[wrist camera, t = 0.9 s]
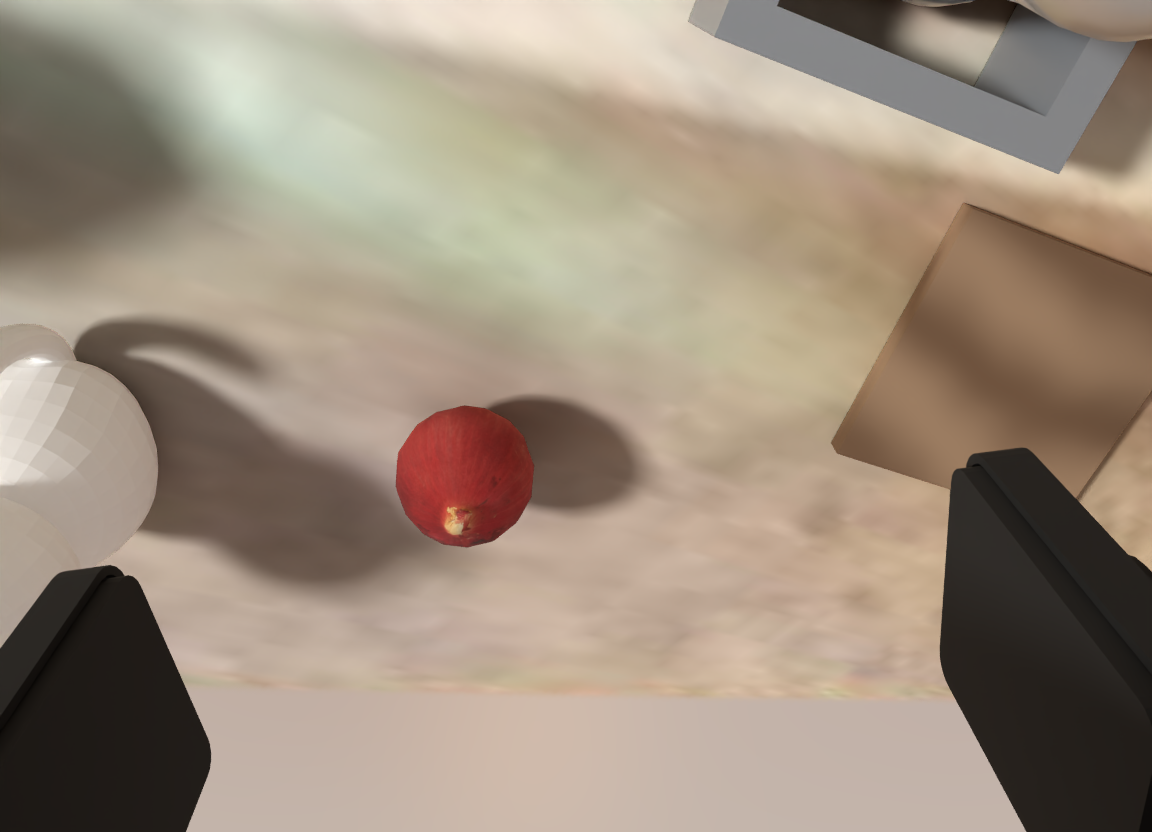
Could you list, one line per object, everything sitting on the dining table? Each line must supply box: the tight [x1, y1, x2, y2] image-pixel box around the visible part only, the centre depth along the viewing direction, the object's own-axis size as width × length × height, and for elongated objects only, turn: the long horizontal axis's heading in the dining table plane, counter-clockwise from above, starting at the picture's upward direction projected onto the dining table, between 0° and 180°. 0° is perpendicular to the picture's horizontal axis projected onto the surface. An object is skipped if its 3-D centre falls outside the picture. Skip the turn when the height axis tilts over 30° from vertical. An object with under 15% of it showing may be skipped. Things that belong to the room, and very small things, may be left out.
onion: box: [396, 406, 534, 547], centre depth 39 cm, size 6×6×8 cm
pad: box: [831, 203, 1152, 498], centre depth 42 cm, size 12×12×1 cm
